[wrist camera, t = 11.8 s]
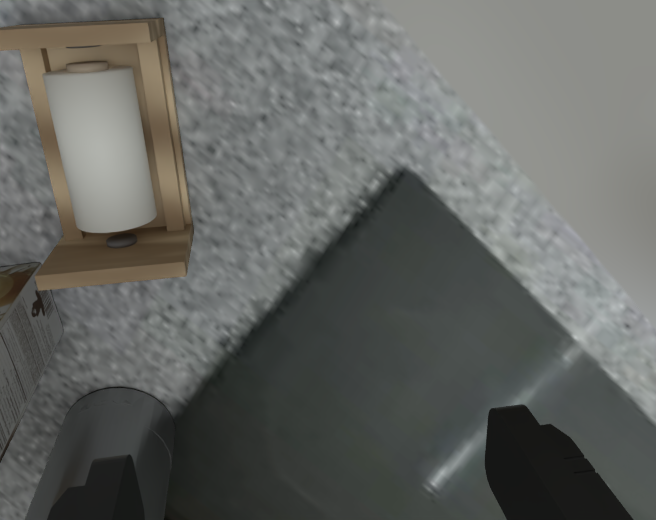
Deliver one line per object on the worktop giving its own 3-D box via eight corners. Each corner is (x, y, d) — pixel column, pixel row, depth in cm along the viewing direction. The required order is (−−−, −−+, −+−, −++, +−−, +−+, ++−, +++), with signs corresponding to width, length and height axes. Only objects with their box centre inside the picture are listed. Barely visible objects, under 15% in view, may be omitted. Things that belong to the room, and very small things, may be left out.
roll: (55, 61, 39) (27, 70, 34) (137, 56, 39) (121, 65, 34) (88, 215, 43) (68, 242, 38) (162, 209, 43) (151, 235, 39)
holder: (193, 231, 46) (186, 276, 38) (70, 242, 45) (38, 290, 37) (163, 17, 39) (147, 22, 32) (19, 24, 38) (-31, 31, 31)
